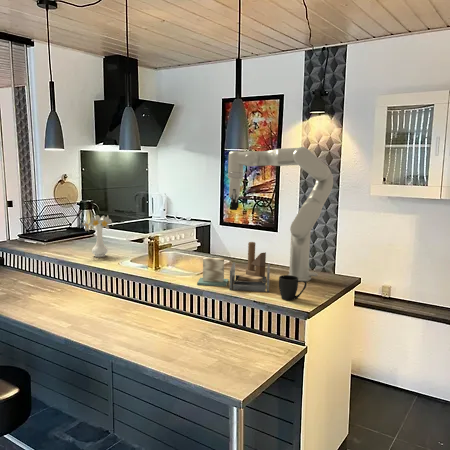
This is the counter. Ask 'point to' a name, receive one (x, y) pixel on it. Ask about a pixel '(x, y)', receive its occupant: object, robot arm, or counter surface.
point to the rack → (248, 282)
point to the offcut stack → (250, 278)
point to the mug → (289, 287)
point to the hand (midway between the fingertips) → (234, 208)
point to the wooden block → (255, 261)
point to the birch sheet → (213, 269)
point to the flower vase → (99, 234)
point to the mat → (212, 283)
